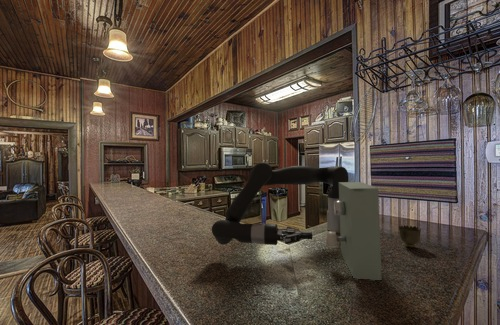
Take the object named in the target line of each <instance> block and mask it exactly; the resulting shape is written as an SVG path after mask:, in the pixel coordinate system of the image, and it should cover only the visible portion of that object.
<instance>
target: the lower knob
mask: <svg viewBox="0 0 500 325" xmlns="http://www.w3.org/2000/svg"><path fill="white" fill-rule="evenodd" d="M325 241H326V242H325V243H326V247H338V246H337V245H338V242H340V243H341V242H346V237H341V236H337V233H336V232H332V231H330V230H328V231H325Z"/></svg>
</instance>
